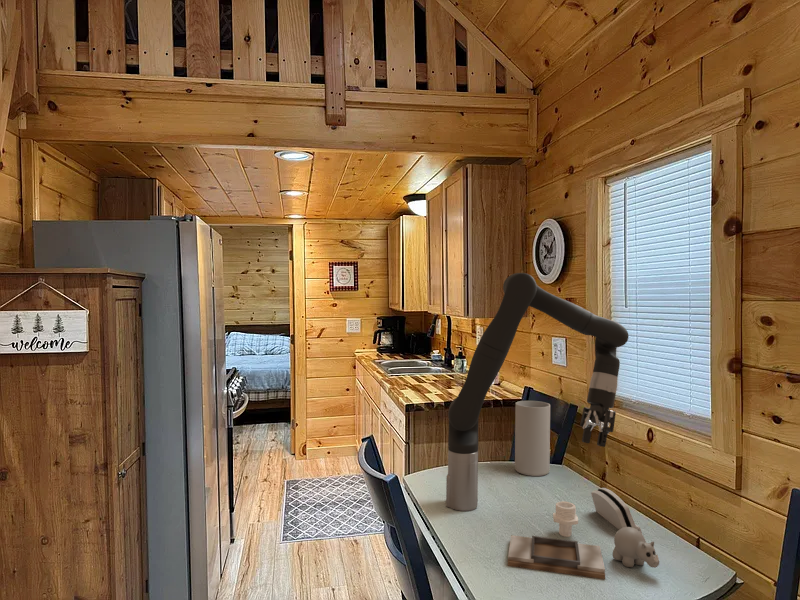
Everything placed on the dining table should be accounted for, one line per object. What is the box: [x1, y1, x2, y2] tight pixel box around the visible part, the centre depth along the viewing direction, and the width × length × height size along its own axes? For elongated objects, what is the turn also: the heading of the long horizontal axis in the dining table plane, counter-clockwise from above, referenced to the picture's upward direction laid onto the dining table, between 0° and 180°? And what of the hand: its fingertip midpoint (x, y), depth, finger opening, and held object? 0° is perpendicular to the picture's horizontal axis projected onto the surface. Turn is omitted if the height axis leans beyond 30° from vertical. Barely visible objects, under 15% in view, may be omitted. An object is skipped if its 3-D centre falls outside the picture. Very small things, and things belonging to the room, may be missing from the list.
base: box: [507, 534, 606, 580], centre depth 133 cm, size 22×14×2 cm, turn 75°
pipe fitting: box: [552, 501, 579, 538], centre depth 146 cm, size 6×7×8 cm
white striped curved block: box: [590, 487, 643, 535], centre depth 154 cm, size 17×5×10 cm, turn 7°
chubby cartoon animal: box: [612, 527, 660, 568], centre depth 129 cm, size 7×12×8 cm, turn 20°
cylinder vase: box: [514, 400, 551, 477], centre depth 199 cm, size 12×12×25 cm
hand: (593, 444), depth 156 cm, fingers open, 8 cm apart
